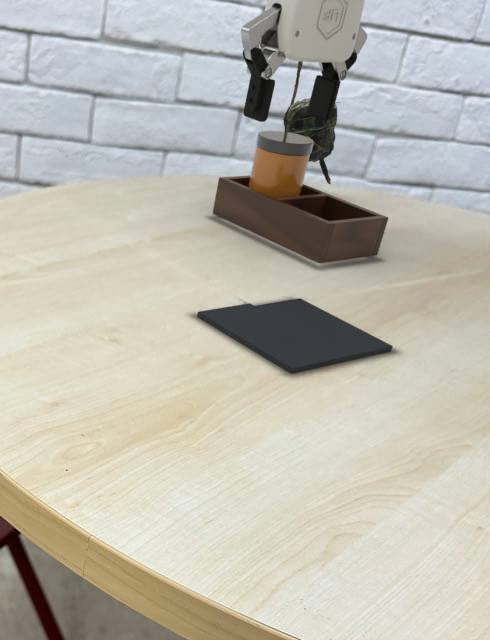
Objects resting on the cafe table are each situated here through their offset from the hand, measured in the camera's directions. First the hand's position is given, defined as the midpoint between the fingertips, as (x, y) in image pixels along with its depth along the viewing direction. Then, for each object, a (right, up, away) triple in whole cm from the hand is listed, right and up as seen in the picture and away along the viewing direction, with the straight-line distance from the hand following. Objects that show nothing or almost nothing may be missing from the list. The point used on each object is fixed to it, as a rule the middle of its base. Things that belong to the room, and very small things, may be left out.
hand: (287, 118), depth 93 cm
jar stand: (+1, -12, +4) cm, 13 cm away
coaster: (-4, -28, -19) cm, 34 cm away
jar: (-1, -9, +6) cm, 11 cm away
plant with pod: (+4, 0, +20) cm, 20 cm away
